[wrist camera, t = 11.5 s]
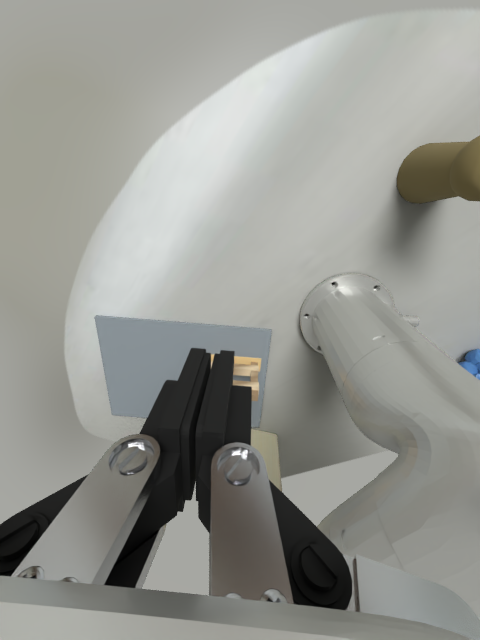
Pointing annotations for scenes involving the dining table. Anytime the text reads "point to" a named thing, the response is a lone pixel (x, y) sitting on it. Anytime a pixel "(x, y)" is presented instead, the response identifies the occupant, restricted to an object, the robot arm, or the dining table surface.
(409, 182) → the cork
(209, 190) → the dining table surface
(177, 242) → the dining table surface
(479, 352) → the grapes
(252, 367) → the fence fixed
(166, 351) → the card
